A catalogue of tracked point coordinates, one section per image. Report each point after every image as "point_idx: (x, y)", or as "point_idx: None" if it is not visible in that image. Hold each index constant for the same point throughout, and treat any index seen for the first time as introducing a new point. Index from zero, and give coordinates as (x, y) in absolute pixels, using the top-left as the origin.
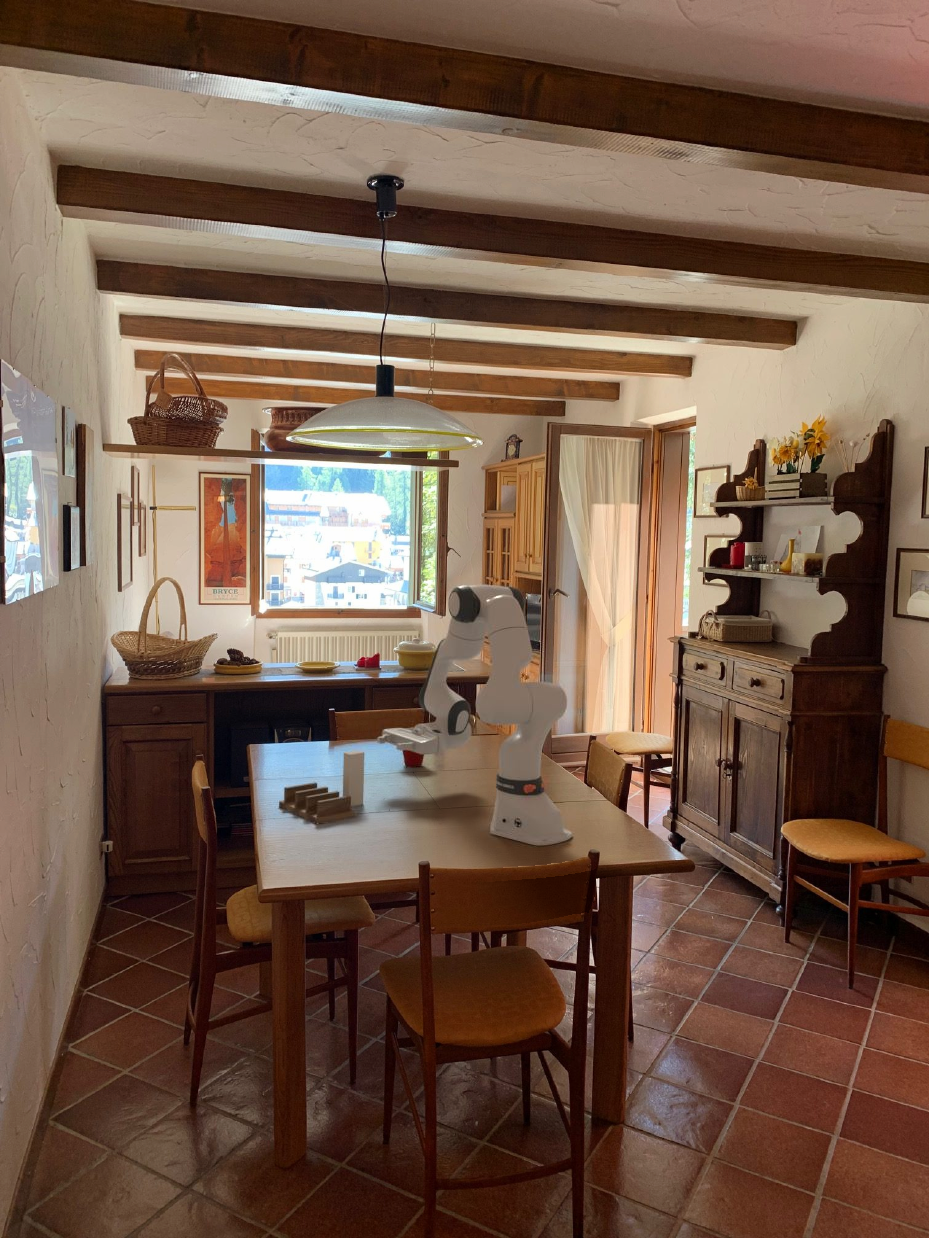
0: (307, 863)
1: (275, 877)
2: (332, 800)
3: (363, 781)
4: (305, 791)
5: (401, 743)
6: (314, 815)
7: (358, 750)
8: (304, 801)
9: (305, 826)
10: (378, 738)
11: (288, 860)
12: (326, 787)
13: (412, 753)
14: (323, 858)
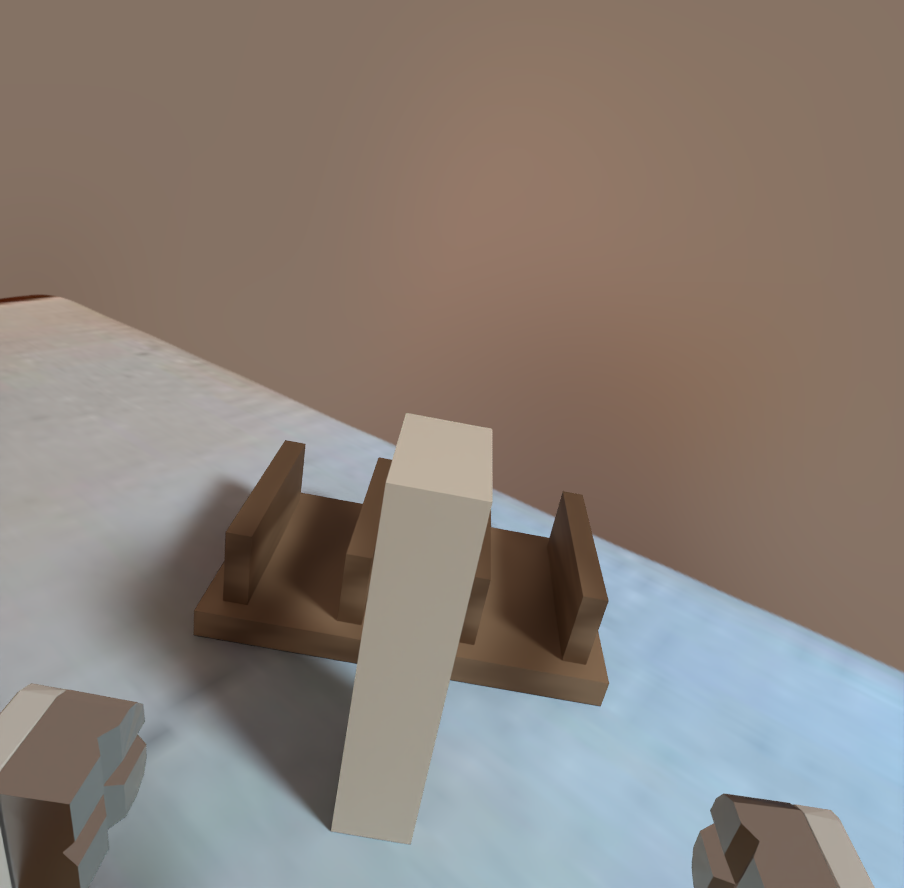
0: (58, 352)
1: (83, 314)
2: (264, 474)
3: (351, 700)
4: None
5: (36, 757)
6: (313, 502)
7: (487, 501)
8: None
9: None
10: (778, 805)
11: (122, 353)
12: None
13: None
14: (33, 372)
